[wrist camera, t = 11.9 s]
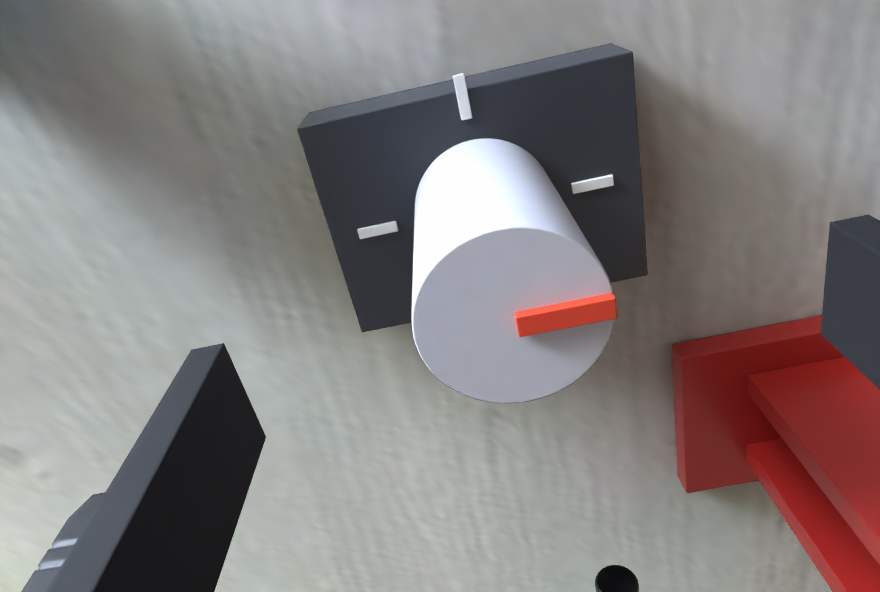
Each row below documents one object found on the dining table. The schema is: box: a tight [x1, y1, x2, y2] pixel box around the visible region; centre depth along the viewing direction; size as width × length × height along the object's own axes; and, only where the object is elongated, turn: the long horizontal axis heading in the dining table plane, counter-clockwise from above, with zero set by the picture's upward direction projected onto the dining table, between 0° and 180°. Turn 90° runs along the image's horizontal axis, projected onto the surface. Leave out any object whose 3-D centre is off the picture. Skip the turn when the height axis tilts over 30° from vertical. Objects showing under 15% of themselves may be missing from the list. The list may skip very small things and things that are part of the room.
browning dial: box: [412, 138, 617, 403], centre depth 18 cm, size 5×5×8 cm
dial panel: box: [297, 43, 648, 332], centre depth 23 cm, size 11×9×3 cm
